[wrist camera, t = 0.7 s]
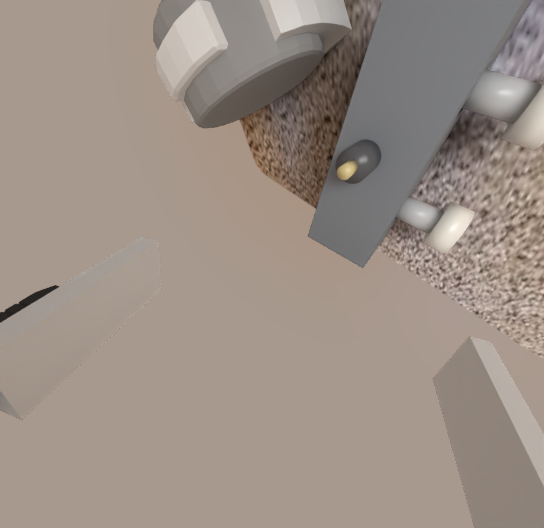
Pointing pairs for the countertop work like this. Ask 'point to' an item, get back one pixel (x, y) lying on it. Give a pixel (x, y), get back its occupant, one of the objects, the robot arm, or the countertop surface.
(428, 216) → the knob
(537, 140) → the knob
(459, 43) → the block
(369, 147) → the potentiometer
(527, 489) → the robot arm
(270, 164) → the countertop surface
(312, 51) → the grey rounded slab
